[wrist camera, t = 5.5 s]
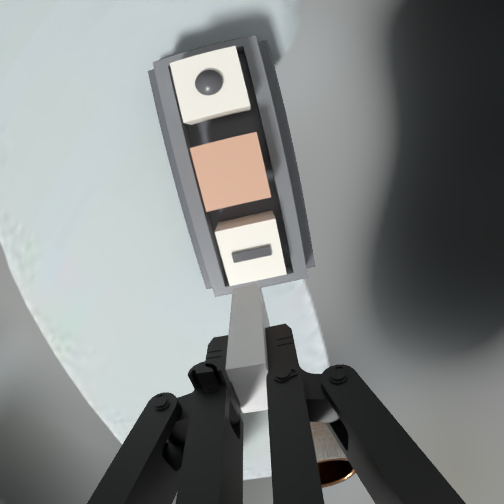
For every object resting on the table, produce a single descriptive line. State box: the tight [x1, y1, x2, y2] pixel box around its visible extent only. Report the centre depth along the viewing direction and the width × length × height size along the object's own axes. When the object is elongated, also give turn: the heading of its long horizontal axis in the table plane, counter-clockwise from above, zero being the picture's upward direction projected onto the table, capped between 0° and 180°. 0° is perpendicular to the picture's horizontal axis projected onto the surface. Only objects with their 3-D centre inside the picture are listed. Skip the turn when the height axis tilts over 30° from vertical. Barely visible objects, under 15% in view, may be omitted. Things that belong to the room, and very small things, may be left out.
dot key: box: [170, 46, 250, 125], centre depth 21 cm, size 5×5×3 cm
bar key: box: [215, 210, 287, 286], centre depth 27 cm, size 5×5×3 cm
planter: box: [310, 422, 356, 488], centre depth 37 cm, size 11×11×10 cm
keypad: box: [148, 35, 315, 297], centre depth 26 cm, size 22×11×4 cm, turn 13°
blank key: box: [190, 132, 271, 212], centre depth 23 cm, size 5×5×3 cm
